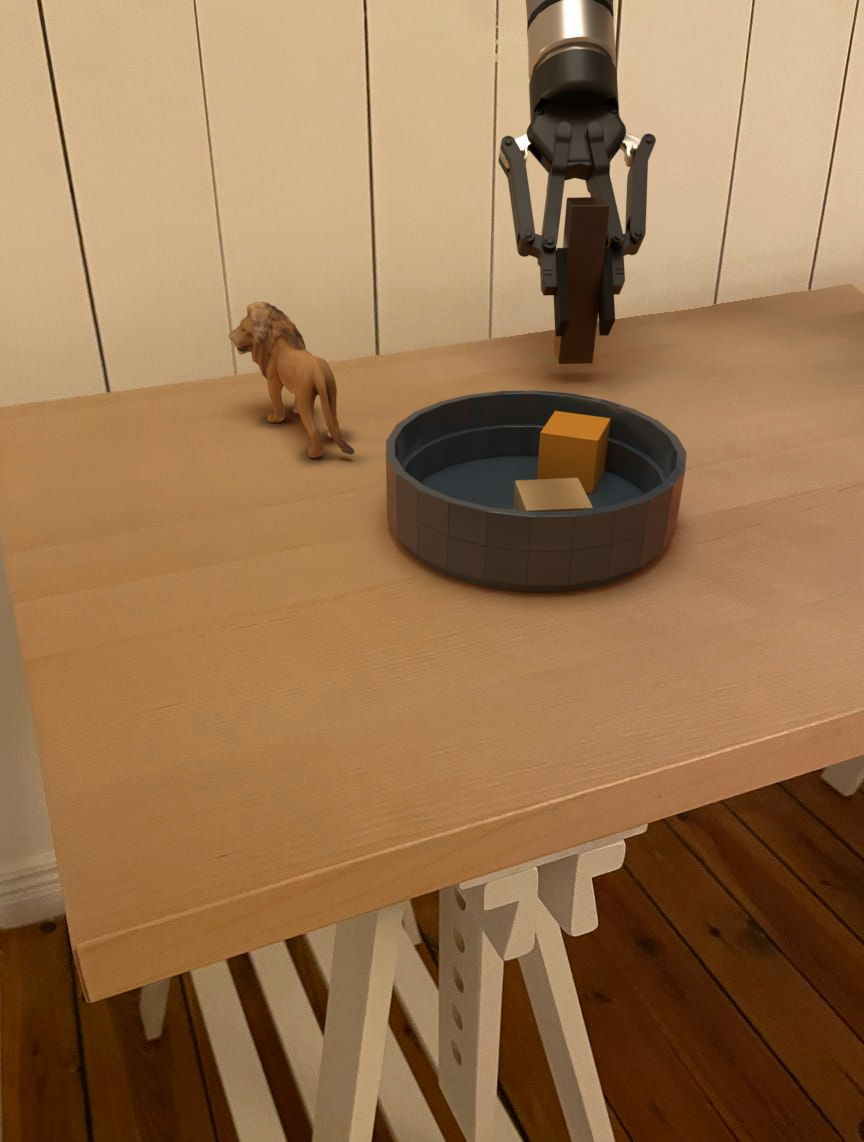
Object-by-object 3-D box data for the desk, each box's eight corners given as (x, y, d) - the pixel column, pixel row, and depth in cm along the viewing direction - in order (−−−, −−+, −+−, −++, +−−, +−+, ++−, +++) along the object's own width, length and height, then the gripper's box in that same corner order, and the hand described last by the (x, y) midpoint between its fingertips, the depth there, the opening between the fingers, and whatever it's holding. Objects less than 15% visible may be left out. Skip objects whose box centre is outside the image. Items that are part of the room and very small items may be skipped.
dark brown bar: (587, 351, 90) (603, 196, 83) (592, 363, 88) (609, 205, 80) (553, 352, 90) (566, 197, 83) (558, 364, 88) (572, 205, 80)
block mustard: (604, 470, 73) (610, 418, 71) (592, 494, 70) (598, 440, 68) (550, 462, 74) (554, 410, 72) (536, 485, 71) (540, 432, 69)
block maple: (572, 533, 65) (578, 477, 63) (586, 565, 62) (593, 507, 60) (511, 536, 65) (514, 480, 63) (522, 568, 62) (526, 510, 60)
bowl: (640, 458, 76) (650, 388, 73) (705, 594, 61) (722, 513, 58) (387, 461, 77) (386, 392, 73) (387, 599, 61) (385, 518, 58)
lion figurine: (230, 410, 85) (218, 303, 80) (283, 395, 88) (275, 290, 83) (326, 469, 76) (319, 352, 70) (383, 451, 78) (381, 336, 73)
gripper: (653, 104, 91) (669, 347, 87) (476, 107, 91) (483, 350, 87) (677, 41, 84) (695, 304, 80) (483, 45, 84) (492, 307, 80)
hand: (584, 327), depth 84 cm, fingers closed on dark brown bar, 3 cm apart
